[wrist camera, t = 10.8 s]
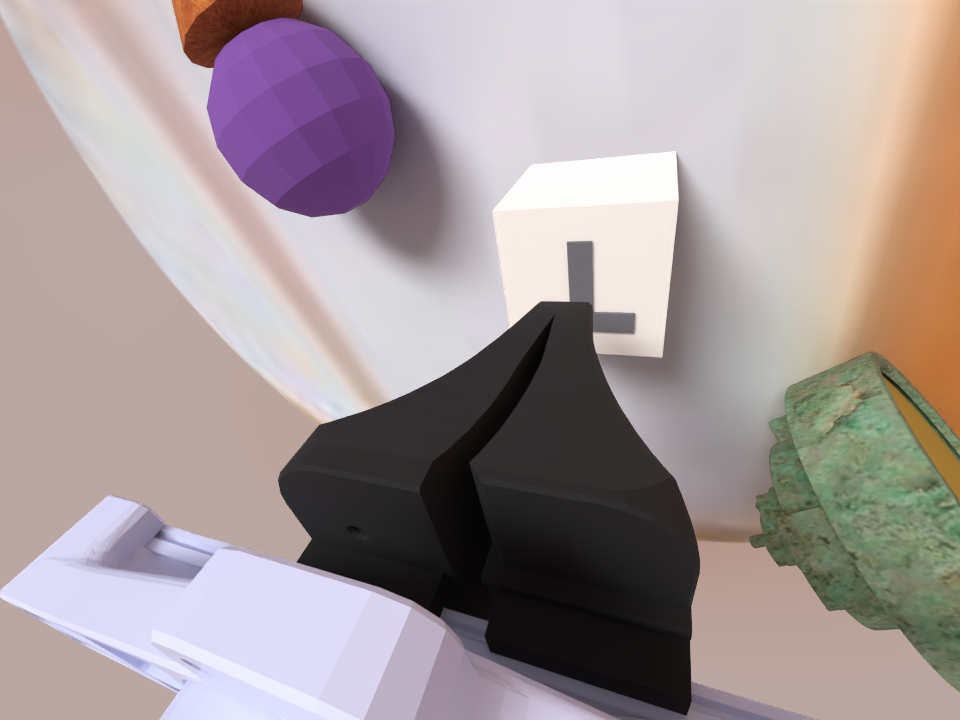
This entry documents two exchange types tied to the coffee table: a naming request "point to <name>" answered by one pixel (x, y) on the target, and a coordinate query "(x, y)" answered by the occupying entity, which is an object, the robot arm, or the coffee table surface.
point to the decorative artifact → (870, 504)
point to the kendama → (290, 104)
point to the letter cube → (594, 245)
